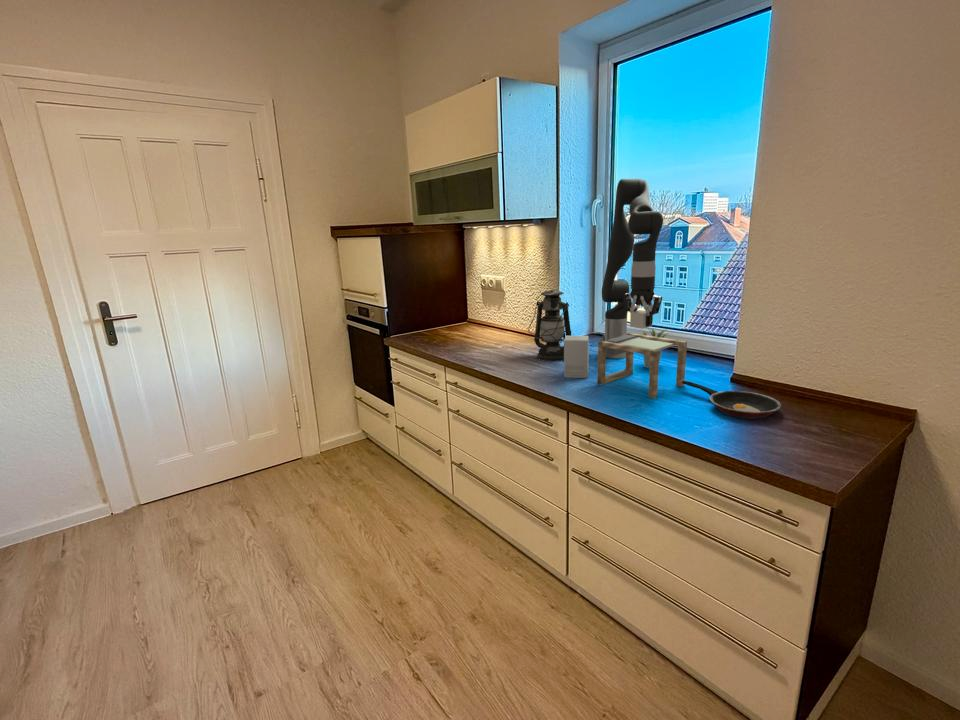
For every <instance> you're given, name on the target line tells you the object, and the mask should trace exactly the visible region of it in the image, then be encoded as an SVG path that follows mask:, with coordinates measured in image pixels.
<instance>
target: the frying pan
mask: <svg viewBox="0 0 960 720" xmlns="http://www.w3.org/2000/svg"><path fill="white" fill-rule="evenodd" d="M682 383H683V384H684V386H688V387H692V388H696V389H699V390H701V391H703V392H705V393H706V394H708V395H709V400H710V401H711V403H712V404H713V405H714V406H715V407H716V409H718V410H719V411H720V412H721V413H724V414H726V415H729V416H731V417H735V418H740V419H741V418H742V419H751V420H754V419H764V418H767V417H768V416H771V415H772V414H774V413H775V412H776V411H779V409H780V408H781V406H782V403H781V402H780V401H779V400H778V399H775V398H774V397H771V396H768V395H765V394H761V393H759V392H758V393H757V392H754V391H753V392H752V391H751V392H750V391H743V390H742V391H741V390H724V391H717V390H715V389H712V388H709V387H708V386H704V385H701V384H699V383H696V382H693V381H688V380H685V381H682Z"/></svg>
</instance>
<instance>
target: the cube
mask: <svg viewBox="0 0 960 720" xmlns="http://www.w3.org/2000/svg"><path fill="white" fill-rule="evenodd" d="M646 316H647V315H646V311H645V310H644V309H643V310H641V309H638V310H637V311H634V312H631V313H630V319H629V321H630V322H629V327H631V328H637V329H640V330H643V329H648V328H652V326H653V324H652V325H651V326H649V327H646Z"/></svg>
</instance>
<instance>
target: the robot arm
mask: <svg viewBox="0 0 960 720" xmlns="http://www.w3.org/2000/svg"><path fill="white" fill-rule="evenodd" d="M614 201H615V202H614V212H613V213H614V215H613V223H612V228H611V234H610V240H609V247H608V253H607V264H606V268H605V273H604V277H603V280H602V281H603V282H602V288H601V298H602V301H603V302H604V303H617V304H616V305H615V306H614V307H612V308H609V309H607V310H605V313H604V333H603V334H602V341H606V340H609V339H612V338H616V337H620V336H623V335H626V334H627V333H628V332H627V331H628V313H630V314H631V312H634V311H638V310H639V307H641V306H642V307H643V310H644V311H646V315H647V316H646V327H647V328H650V327H649V326H651V325H652V326H653V319H654V315H656V314H659V311H660V308H661V305H662V301H663V296H662V295H661V296H658V295H656V293H655V292H654V291H655V288H656V287H655V286H656V268H657V267H656V250H657V249H656V248H657V243H658V240H659V236H660V234H661V231H662V229H663V225H664V217H663V214H662V213H661V212H660V211H657V210H656V211H655V210H653V208H652V205H651V203H650V188H649V184H648V181H647V180H646V179H642V178H621V179H619V180H618V183H617V185H616V193H615V200H614ZM628 205H629V209H628V211H629V219H628V220H627V218H626V214H625V211H624V206H628ZM635 235H636V236H639V235H649V236H648V238H647V239H646V240H642V241H639V242H636V243H635ZM631 256H632V263H631V273H630V274H631V275H630V276H631V277H630V278H631V279H630V284H629V282H628V281H627V280H625V279H618V280H616V276H617V275H618V273H619V272H620V270H621V269H622V268H623V267H624V266H625V264H626V263H627V262H628V261H629V259H630V258H631ZM630 289H631V292H630ZM652 326H651V327H652ZM624 358H626V352H625V353H621V354H618V355H611V354H606V359H614V360H615V359H616V360H618V359H624Z"/></svg>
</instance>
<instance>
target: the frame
mask: <svg viewBox="0 0 960 720" xmlns="http://www.w3.org/2000/svg"><path fill="white" fill-rule="evenodd" d="M626 335H632V336H636V338H638V337H641V339H647V340H654V341H660V342H666V343H673V346H677V347H678V348H677V359H676V360H677V362H676V377H675V378H676V379H675V380H676V382H675V386H676V387H680V388H681V387H684V386H685V384H683V383H682V381H686V380H685V379H686V364H687V363H686V362H687V348H688V341H686V340H681V339H680V340H679V339H673V338H666V337H663V338H662V337H661V336H660V337H657V336H655V337H654V336H652V335H648V334H647V335H644V334H640V333H638V334H637V333H635V332H634V333H633V332H627V334H626ZM606 347H607V348H613V349H618V350H624V351H628V352H626V357H625V366H624V367H625V369H622V370H619V371H616V372H613V373H610V374H607V375H606V367H607V366H606V363H607V362H606V361H607V360H606V359H607V357H606ZM659 351H661V350H654V349H648V348H642V347H636V346H631V345H625V344H619V343H613V342H607V341H603V339H602V340H599V341H597V374H596V375H597V377H596V378H597V379H596V381H597V382H596V385H600V386H603V385H606V384H609V383H612V382H615V381H617V380H620V379H623V378H625V376H626V377H628V375H629V376H631V375H633V374H634V353H635V354H640V355H643V354H645V355H650V368H649V377H648V394H647V395H648V397H647V398H649V397H650V398H649V399H653V398H654V399H656V397H658V387H659V369H660V368H659V367H660V366H659V365H660V362H659ZM614 380H615V381H614Z"/></svg>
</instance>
